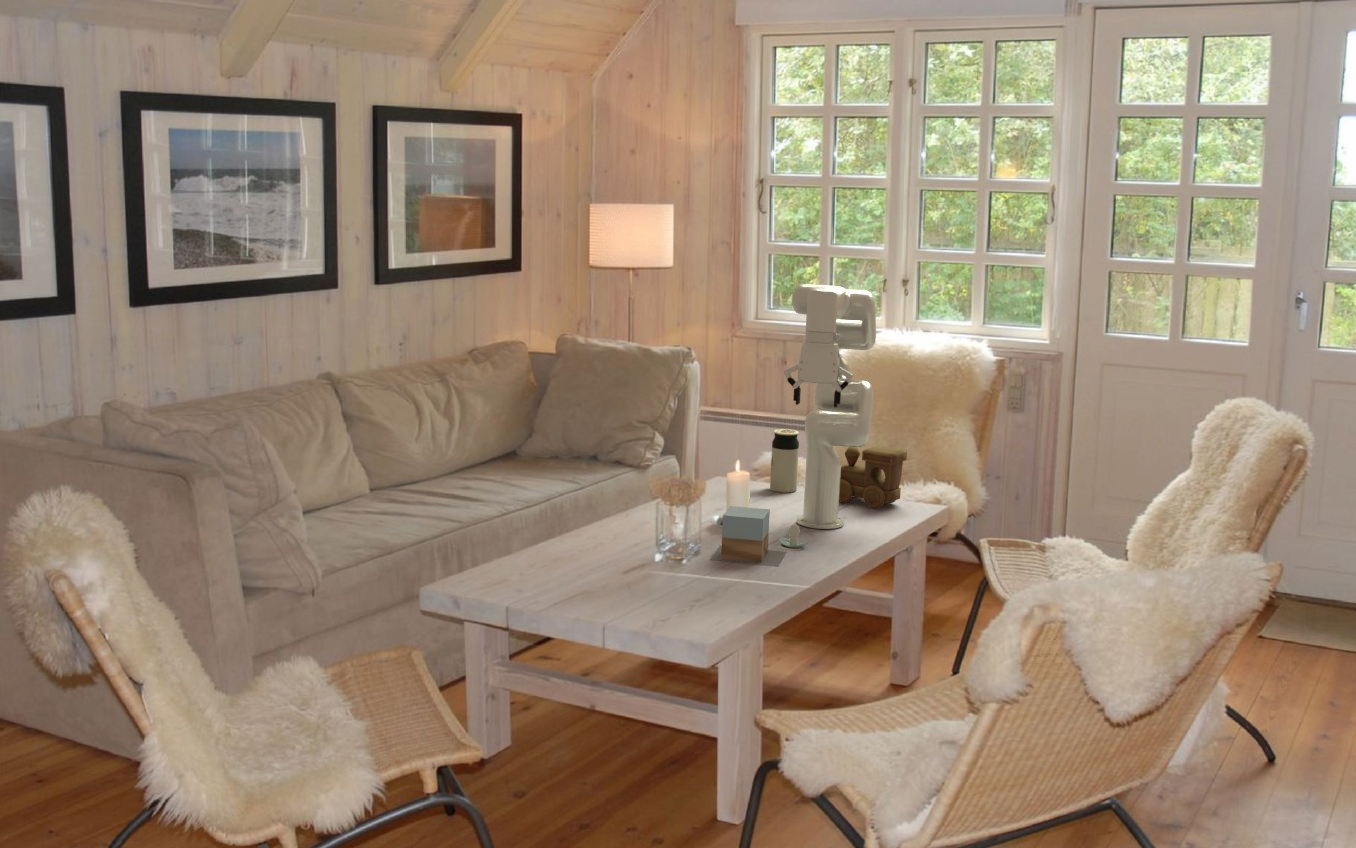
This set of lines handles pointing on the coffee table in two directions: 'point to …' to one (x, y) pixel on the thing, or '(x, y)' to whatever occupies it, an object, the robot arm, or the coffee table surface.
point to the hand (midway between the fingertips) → (816, 405)
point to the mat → (769, 560)
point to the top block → (745, 523)
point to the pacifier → (792, 539)
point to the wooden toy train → (872, 476)
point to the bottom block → (744, 549)
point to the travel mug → (784, 461)
